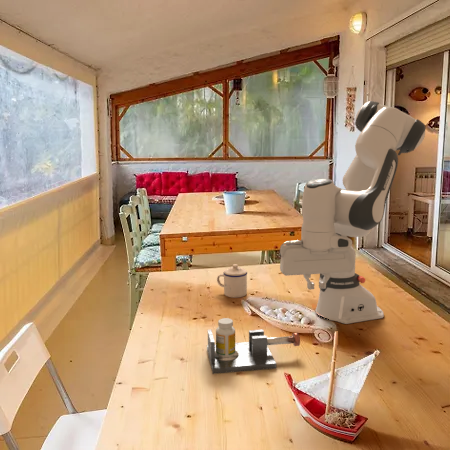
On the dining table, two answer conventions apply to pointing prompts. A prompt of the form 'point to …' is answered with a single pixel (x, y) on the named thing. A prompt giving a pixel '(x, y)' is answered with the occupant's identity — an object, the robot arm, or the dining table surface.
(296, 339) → the ram
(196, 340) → the dining table surface
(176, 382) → the dining table surface
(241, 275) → the teacup with lid
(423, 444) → the dining table surface
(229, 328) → the supplement bottle
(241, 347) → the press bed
